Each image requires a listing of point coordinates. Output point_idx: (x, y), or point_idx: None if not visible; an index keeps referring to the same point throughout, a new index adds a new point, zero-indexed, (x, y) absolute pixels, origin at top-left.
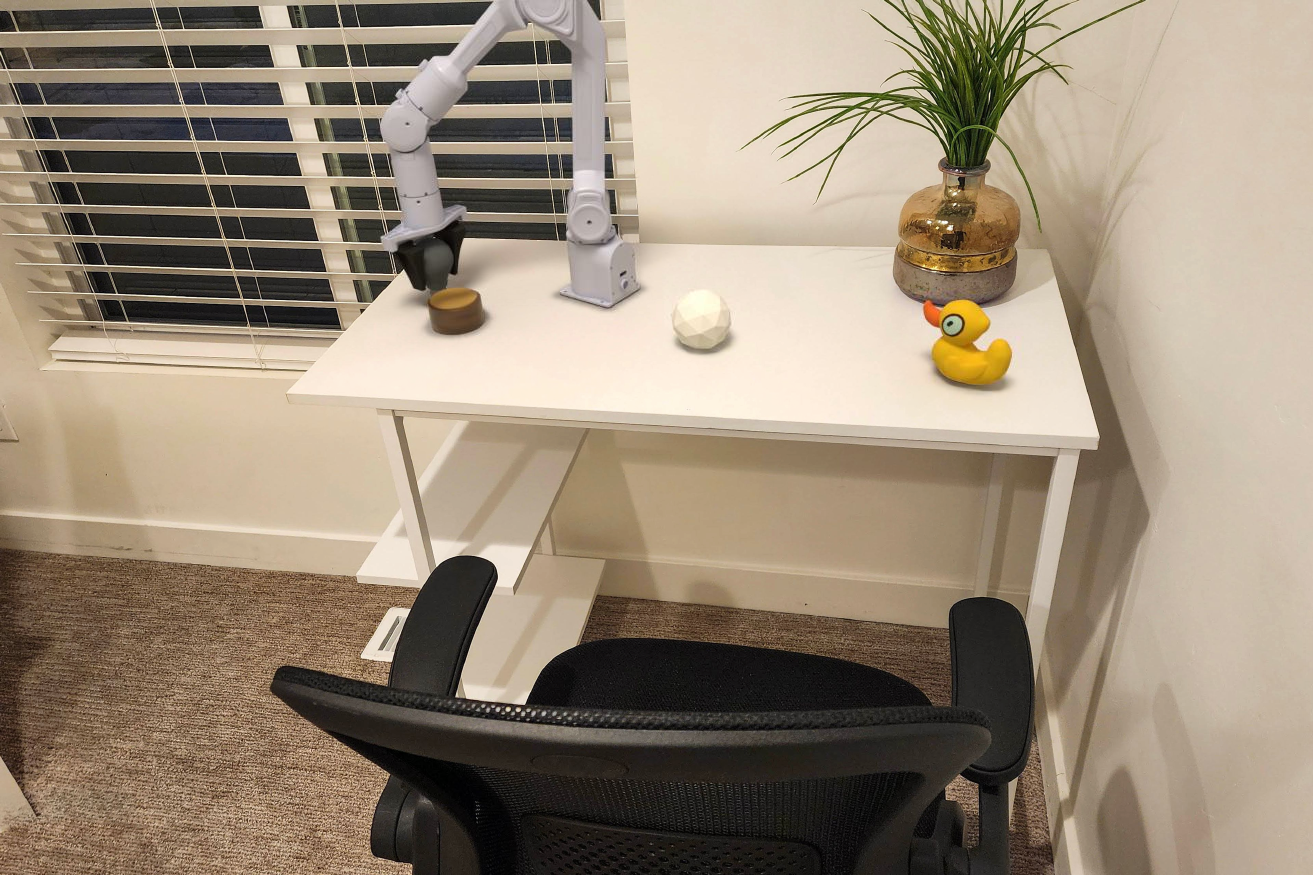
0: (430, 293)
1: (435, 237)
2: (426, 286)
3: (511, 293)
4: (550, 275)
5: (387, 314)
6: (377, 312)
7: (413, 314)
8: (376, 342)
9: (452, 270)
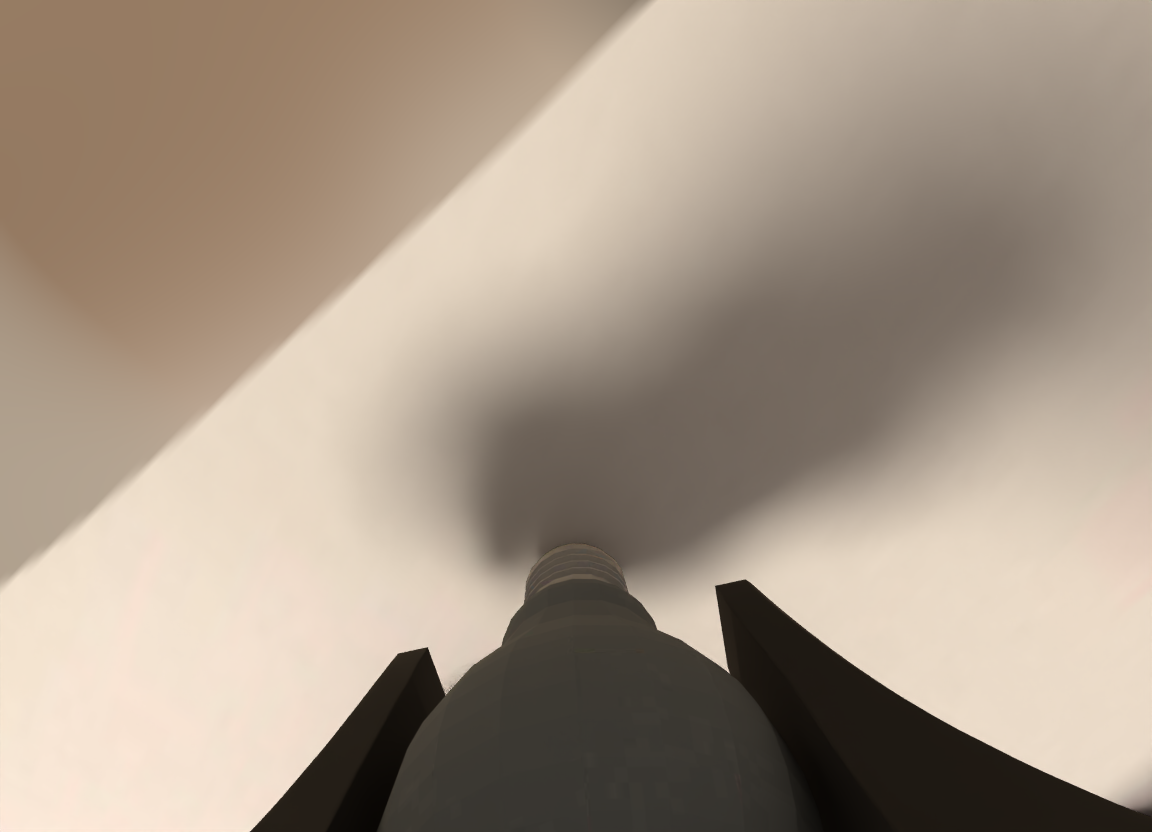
0: (527, 596)
1: (889, 829)
2: (503, 639)
3: None
4: (1144, 674)
5: (260, 487)
6: (215, 420)
7: (386, 587)
8: (103, 720)
9: (739, 680)
